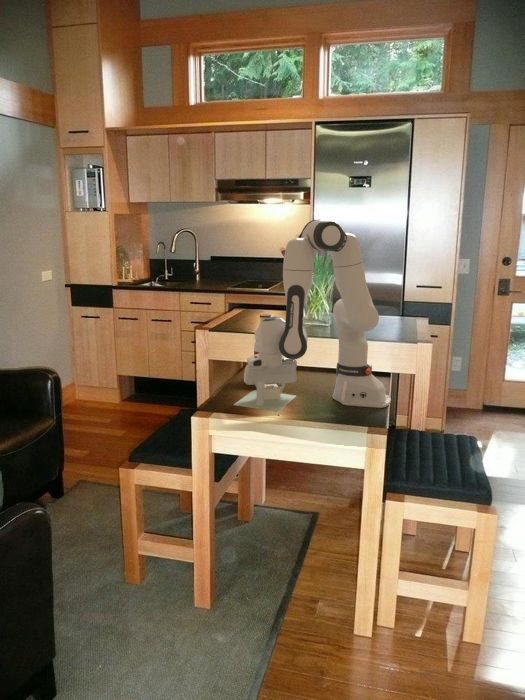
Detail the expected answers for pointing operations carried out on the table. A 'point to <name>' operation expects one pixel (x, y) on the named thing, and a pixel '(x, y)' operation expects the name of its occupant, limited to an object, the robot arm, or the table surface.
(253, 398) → the post board
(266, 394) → the square collar
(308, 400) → the table surface
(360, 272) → the robot arm
